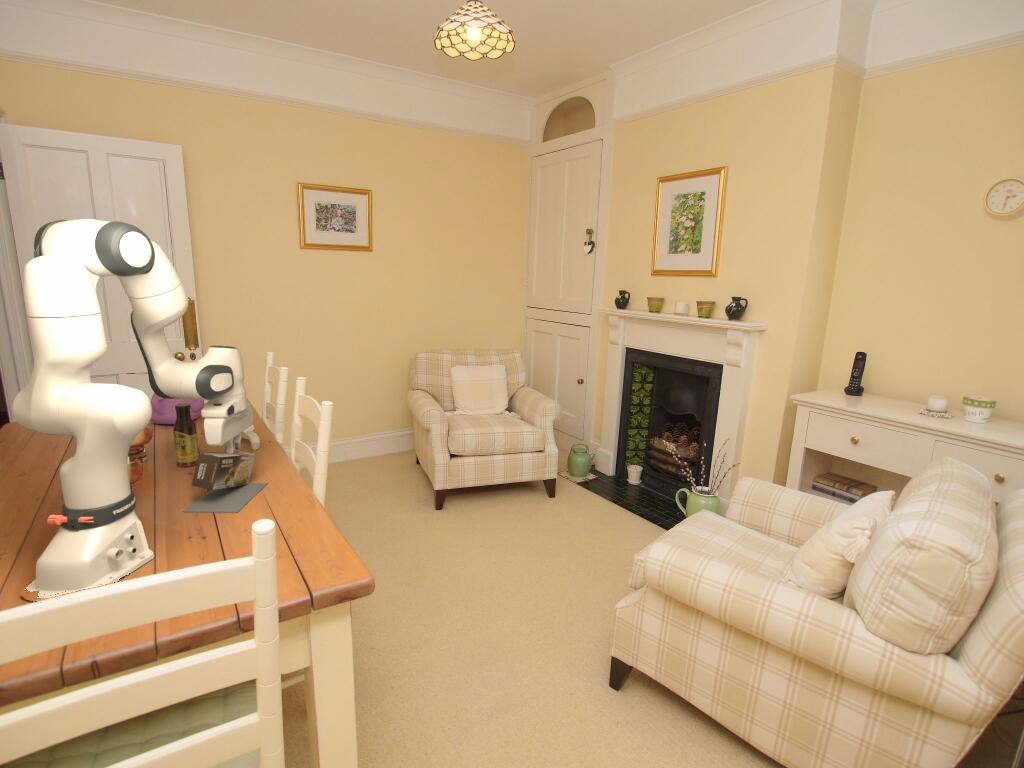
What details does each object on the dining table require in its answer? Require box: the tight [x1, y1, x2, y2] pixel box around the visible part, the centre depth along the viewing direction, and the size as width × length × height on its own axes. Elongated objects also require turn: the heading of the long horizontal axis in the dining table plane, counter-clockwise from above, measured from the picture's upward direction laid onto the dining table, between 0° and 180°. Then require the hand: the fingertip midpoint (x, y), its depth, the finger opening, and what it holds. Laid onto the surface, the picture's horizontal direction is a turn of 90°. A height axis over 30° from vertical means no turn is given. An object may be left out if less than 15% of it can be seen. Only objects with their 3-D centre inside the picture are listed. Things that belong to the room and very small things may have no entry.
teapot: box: [150, 392, 205, 425], centre depth 208 cm, size 23×21×15 cm
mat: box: [182, 482, 268, 514], centre depth 144 cm, size 18×14×1 cm
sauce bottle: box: [172, 403, 200, 468], centre depth 164 cm, size 7×6×20 cm
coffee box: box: [191, 450, 256, 490], centre depth 144 cm, size 9×6×16 cm
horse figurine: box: [241, 424, 261, 450], centre depth 189 cm, size 5×16×25 cm
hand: (233, 450), depth 147 cm, fingers closed
